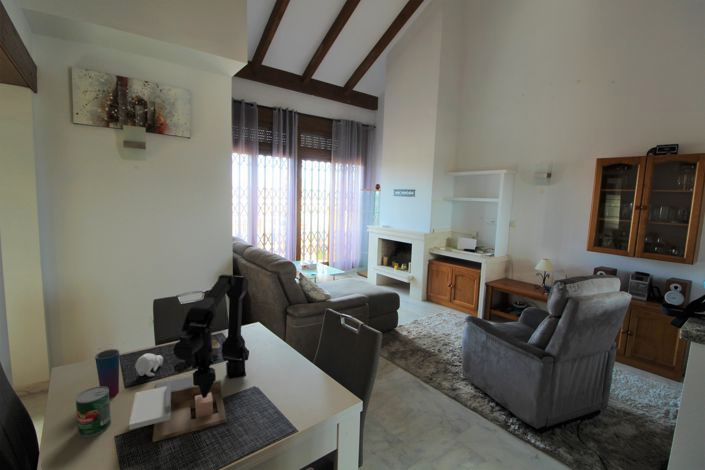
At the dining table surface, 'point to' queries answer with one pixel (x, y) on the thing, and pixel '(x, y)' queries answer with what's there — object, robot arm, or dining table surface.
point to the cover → (151, 407)
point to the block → (203, 405)
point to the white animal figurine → (148, 364)
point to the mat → (177, 383)
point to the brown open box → (189, 413)
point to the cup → (108, 370)
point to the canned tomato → (93, 411)
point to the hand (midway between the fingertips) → (203, 389)
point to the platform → (215, 347)
